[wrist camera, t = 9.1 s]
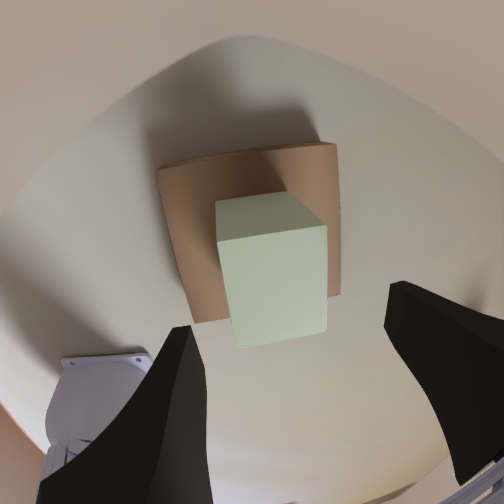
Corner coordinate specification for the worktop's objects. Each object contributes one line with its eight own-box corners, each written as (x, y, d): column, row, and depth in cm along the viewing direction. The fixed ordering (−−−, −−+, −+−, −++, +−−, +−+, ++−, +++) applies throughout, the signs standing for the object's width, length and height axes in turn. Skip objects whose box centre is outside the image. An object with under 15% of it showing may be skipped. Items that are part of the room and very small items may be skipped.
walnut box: (195, 299, 21) (194, 323, 19) (163, 164, 17) (155, 171, 14) (325, 274, 22) (340, 294, 19) (317, 141, 18) (336, 144, 15)
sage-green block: (228, 281, 18) (237, 348, 12) (215, 201, 16) (216, 241, 10) (293, 270, 18) (326, 331, 12) (287, 190, 16) (327, 224, 10)
